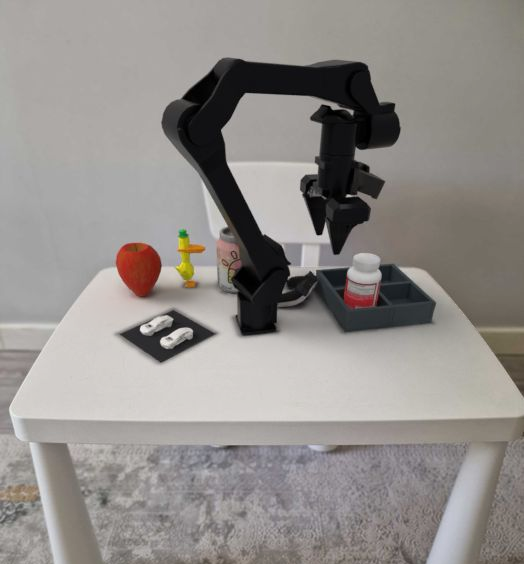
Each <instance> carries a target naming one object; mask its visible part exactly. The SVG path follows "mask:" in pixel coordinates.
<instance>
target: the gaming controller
mask: <svg viewBox="0 0 524 564" xmlns="http://www.w3.org/2000/svg"><path fill="white" fill-rule="evenodd" d="M317 282H318V279H317V277H316V274H315V273H314V272H312V271H311V270H309V271H308V272H307V273H306V274H305V275H295V276H291V277H289V278H288V280H287V282H286V284H285V285H286V287H287V288H289V289H291V290H290V291H286V292H282V295H281V298H280V300H279V302H278V303H277V304H278V306H277V308H285V307H292V306H296V305H298V306H299V305H301V304H302V303H303V302H304V301H305V300H306V298H308V297H309V295H310V294H311V292H312V291H313V290H314V289H315V285H316V284H317Z"/></svg>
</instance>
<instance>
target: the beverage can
mask: <svg viewBox="0 0 524 564" xmlns="http://www.w3.org/2000/svg"><path fill="white" fill-rule="evenodd" d="M215 248H216V249H215V250H216V272H217V285H218V286H219V288H220V289H221V290H222V291H224V292H225V293H226V292H227V293H230V294H237V292H239V291H238V290H237V289H235V288H234V286H233V284H232V281H231V278H232V276H233V275H234V274H235V273H236V271H237V270H238V269H239V268H240V267H241V265H242V263H241V260H240V257H239V246H238V243H237V242H236V240H235V238H234V236H233V234H232V233H231V231H230V229H229V227H228V226H224V227H222V228H221V229H220V230H219V238H218V239H217V241H216V243H215Z"/></svg>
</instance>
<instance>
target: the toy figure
mask: <svg viewBox="0 0 524 564" xmlns="http://www.w3.org/2000/svg"><path fill="white" fill-rule="evenodd" d="M178 233H179V234H178V235H177V238H178V247H177V248H176V249H177V252H179V253H180V257H181V263H180V264H179V265H173V267H174V268H175V270H176V271H177V272H178V274H179V275H180V276H181V278H182V279H183V281H186V283H185V285H184V286H185V288H195V287H196V283H197V282H196V280H195V281H194V280H191V279H192V278H193V276H194V275H195V267H194V265H193V264H192V262H190V260H191V259H190V258H191V254H202V253H203V252H204V251H206V246H204V245H202V244H194V243H193V244H192V243H190V234H189V233H187V229H186V228H182V229H179V230H178Z"/></svg>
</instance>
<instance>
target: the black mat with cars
mask: <svg viewBox="0 0 524 564" xmlns="http://www.w3.org/2000/svg"><path fill="white" fill-rule="evenodd" d="M119 335H120V336H121V337H123V338H124V339H126V340H127V341H129V342H130V343H131V344H133V345H135V346H136V347H137V348H139V349H140V350H142V351H143V352H145V353H146V354H147V355H149V356H151V357H152V358H154V359H155V360H157V362H159V363H163V362H164V361H166V360H168V359H170V358H172V357H174V356H175V355H178V354H179V353H181V352H184V351H186V350H187V349H189V348H191V347H193V346H195V345H196V344H199V343H200V342H202V341H204V340H207V339H208V338H210V337H212V336H214V335H216V332H213V331H211V330H210V329H208V328H206V327H205V326H203V325H201V324H199V323H197V322H196V321H194V320H192V319H191V318H188V317H187V316H186V315H183V314H182V313H180V312H178V311H176V310H175V309H172V310H170V311H168V312H166V313H163V314H161V315H159V316H157V317H155V318H152V319H150V320H148V321H146V322H143V323H141V324H139V325H136V326H133V327H132V328H130V329H127V330H126V331H123V332H121V333H119Z"/></svg>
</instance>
